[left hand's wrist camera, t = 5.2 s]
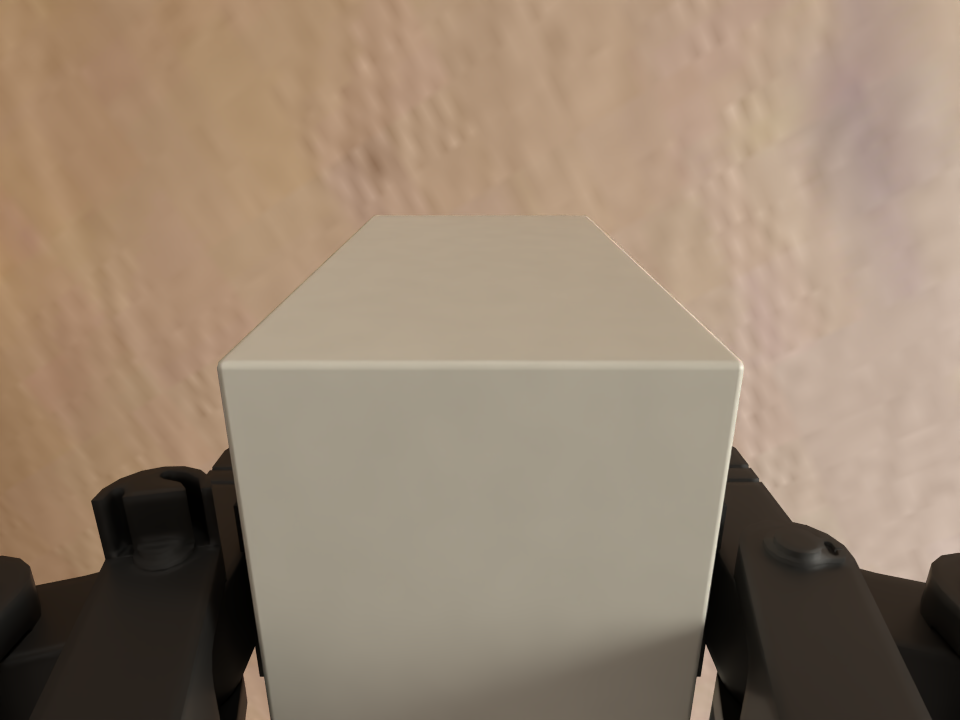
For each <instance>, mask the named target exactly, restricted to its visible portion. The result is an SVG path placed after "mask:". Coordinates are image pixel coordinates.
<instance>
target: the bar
mask: <svg viewBox="0 0 960 720" xmlns="http://www.w3.org/2000/svg"><path fill="white" fill-rule="evenodd" d="M217 371H218V378H219V384H220V391H221V397H222V404H223V410H224V417H225V424H226V430H227V437H228V443H229V450H230V456H231V463H232V469H233V476H234V482H235V489H236V496H237V502H238V509H239V515H240V522H241V528H242V535H243V541H244V548H245V554H246V561H247V568H248V574H249V581H250V587H251V594H252V600H253V607H254V613H255V620H256V626H257V633H258V640H259V646H260V653H261V659H262V666H263V672H264V679H265V685H266V692H267V698H268V705H269V712H270V718H271V720H690V716H691V710H692V703H693V697H694V690H695V684H696V677H697V671H698V664H699V658H700V651H701V645H702V638H703V632H704V625H705V619H706V612H707V606H708V599H709V593H710V586H711V580H712V573H713V567H714V560H715V554H716V547H717V541H718V534H719V528H720V521H721V515H722V508H723V502H724V495H725V489H726V482H727V476H728V469H729V463H730V456H731V450H732V443H733V436H734V430H735V423H736V417H737V410H738V404H739V397H740V391H741V384H742V378H743V371H744V366H743V363H742V361H741V360H740V359H739V358H738V357H737V356H736V355H734V354H733V353H732V352H731V351H730V350H729V349H728V348H727V347H726V346H725V345H724V344H723V343H722V342H721V341H720V340H718V339H717V338H716V337H715V336H714V335H713V334H712V333H711V332H710V331H709V330H708V329H707V328H706V327H705V326H704V325H702V324H701V323H700V322H699V321H698V320H697V319H696V318H695V317H694V316H693V315H692V314H691V313H690V312H689V311H688V310H686V309H685V308H684V307H683V306H682V305H681V304H680V303H679V302H678V301H677V300H676V299H675V298H674V297H673V296H672V295H670V294H669V293H668V292H667V291H666V290H665V289H664V288H663V287H662V286H661V285H660V284H659V283H658V282H657V281H656V280H654V279H653V278H652V277H651V276H650V275H649V274H648V273H647V272H646V271H645V270H644V269H643V268H642V267H641V266H640V265H638V264H637V263H636V262H635V261H634V260H633V259H632V258H631V257H630V256H629V255H628V254H627V253H626V252H625V251H624V250H622V249H621V248H620V247H619V246H618V245H617V244H616V243H615V242H614V241H613V240H612V239H611V238H610V237H609V236H608V235H606V234H605V233H604V232H603V231H602V230H601V229H600V228H599V227H598V226H597V225H596V224H595V223H594V222H593V221H592V220H590V219H589V218H588V217H587V216H585V215H375V216H373V217H372V218H371V219H370V220H369V221H368V222H367V223H366V224H365V225H364V226H362V227H361V228H360V229H359V230H358V231H357V232H356V233H355V234H354V235H353V236H352V237H351V238H350V239H349V240H348V241H347V242H345V243H344V244H343V245H342V246H341V247H340V248H339V249H338V250H337V251H336V252H335V253H334V254H333V255H332V256H331V257H330V258H328V259H327V260H326V261H325V262H324V263H323V264H322V265H321V266H320V267H319V268H318V269H317V270H316V271H315V272H314V273H313V274H311V275H310V276H309V277H308V278H307V279H306V280H305V281H304V282H303V283H302V284H301V285H300V286H299V287H298V288H297V289H296V290H294V291H293V292H292V293H291V294H290V295H289V296H288V297H287V298H286V299H285V300H284V301H283V302H282V303H281V304H280V305H279V306H277V307H276V308H275V309H274V310H273V311H272V312H271V313H270V314H269V315H268V316H267V317H266V318H265V319H264V320H263V321H262V322H260V323H259V324H258V325H257V326H256V327H255V328H254V329H253V330H252V331H251V332H250V333H249V334H248V335H247V336H246V337H245V338H243V339H242V340H241V341H240V342H239V343H238V344H237V345H236V346H235V347H234V348H233V349H232V350H231V351H230V352H229V353H228V354H226V355H225V356H224V357H223V358H222V359H221V360H220V361H219V363H218V366H217Z"/></svg>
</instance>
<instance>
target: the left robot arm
mask: <svg viewBox="0 0 960 720" xmlns="http://www.w3.org/2000/svg"><path fill="white" fill-rule="evenodd" d="M212 468H213V469H212V470H210V471H209V472H208V474H205V473H204V472H203V471H201V470H199V469H194V468H190V467H186V466H173V467H160V468H154V469H149V470H144V471H140V472H137V473H135V474H132V475H129V476H126V477H124V478H121V479H119V480H117V481H115V482H114V483H112V484H110V485H109V486H107V487H105V488H103V489H102V490H101V491H100V492H99V493H98V494H97V495H96V496H95V497H94V499H93V500H92V501H91V502H92V506H93V510H94V515H95V519H96V523H97V527H98V531H99V535H100V539H101V543H102V547H103V551H104V555H105V559H106V560H105V562H104V564H103V566H102V568H101V570H100V572H98V573H94V574H90V575H86V576H82V577H77V578H72V579H67V580H62V581H57V582H52V583H47V584H42V585H37V586H35V582H34V579H33V576H32V572H31V569H30V566H29V565H28V564H26V563H25V562H24V561H23V560H21V559H20V558H14V557H7V556H0V720H245V717H246V709H247V696H246V689H245V683H244V677H243V673H244V671H245V669H246V666H247V664H248V661H249V659H250V657H251V654H252V652H253V650H254V647H255V648H256V654H257V661H258V667H259V674H260V677H264V672H263V666H262V659H261V653H260V646H259V640H258V633H257V626H256V620H255V613H254V607H253V600H252V594H251V587H250V581H249V574H248V568H247V561H246V554H245V548H244V541H243V535H242V528H241V522H240V515H239V509H238V502H237V496H236V489H235V482H234V476H233V469H232V463H231V456H230V450H229V448H228V449H227V450H225V451H224V453H223V454H222V455H221V457H220V458H219V459H218V460H217V462H216V463H215V464H214V466H213V467H212ZM705 645H707V648H708V650H709V652H710V655H711V657H712V659H713V662H714V664H715V666H716V669H717V677H716V683H715V689H714V695H713V701H712V707H711V713H710V719H709V720H960V553H955V554H948V555H942V556H940V557H939V558H938V559H936V560H935V561H934V562H933V563H932V564H931V567H930V571H929V574H928V578H927V581H926V583H923V582H918V581H913V580H908V579H903V578H898V577H893V576H888V575H883V574H878V573H874V572H870V571H866V570H862V569H859V567H858V565H857V563H856V560H855V559H854V557H853V556H852V555H851V553H850V552H849V551H848V550H847V548H846V547H845V546H844V545H843V544H841V543H840V542H838V541H837V540H835V539H834V538H832V537H831V536H830V535H828V534H826V533H824V532H821V531H819V530H817V529H814V528H812V527H810V526H807V525H803V524H799V523H794V522H792V521H791V520H790V518H789V517H788V516H787V514H786V513H785V512H784V511H783V509H782V508H781V507H780V505H779V504H778V503H777V501H776V500H775V499H774V498H773V496H772V495H771V494H770V492H769V491H768V490H767V488H766V487H765V486H764V485H763V483H762V482H759V478H758V477H757V475H756V474H755V473H754V471H753V470H752V469H751V468H749V467H748V464H747V462H746V461H745V460H744V458H743V457H742V456H741V455H740V453H739V452H738V451H737V449H736V448H734V447H733V446H732V450H731V456H730V463H729V469H728V476H727V482H726V489H725V495H724V502H723V508H722V515H721V521H720V528H719V534H718V541H717V547H716V554H715V560H714V567H713V573H712V580H711V586H710V593H709V599H708V606H707V612H706V619H705V625H704V632H703V638H702V645H701V651H700V658H699V664H698V671H697V677H701V670H702V664H703V657H704V651H705Z"/></svg>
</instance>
